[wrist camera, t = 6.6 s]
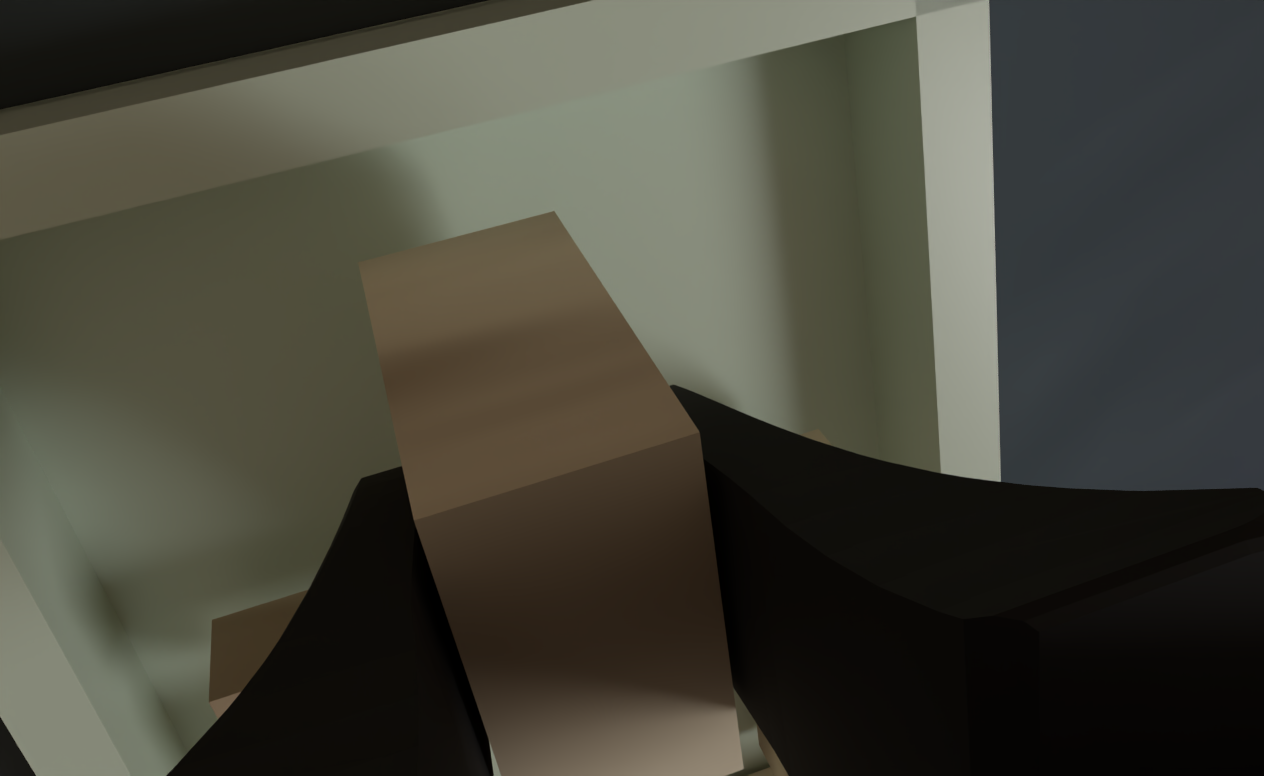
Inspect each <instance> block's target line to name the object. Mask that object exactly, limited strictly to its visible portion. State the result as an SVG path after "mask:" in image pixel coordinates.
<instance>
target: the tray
mask: <svg viewBox="0 0 1264 776" xmlns="http://www.w3.org/2000/svg"><path fill="white" fill-rule="evenodd" d="M552 211H555V213H556V214H557V216H558V217H559V219H560V220H561V222H562V223H563V225H564V227H565V228H566V230H567V231H568V233H569V234H570V236H571V237H572V239H573V240H574V242H575V243H576V245H577V246H578V248H579V249H580V251H581V252H582V254H583V255H584V257H585V258H586V260H587V262H588V263H589V265H590V266H591V268H592V269H593V271H594V272H595V274H596V275H597V277H598V278H599V280H600V281H601V283H602V284H603V286H604V287H605V289H606V290H607V292H608V293H609V295H610V297H611V298H612V300H613V301H614V303H615V304H616V306H617V307H618V309H619V310H620V312H621V313H622V315H623V316H624V318H625V319H626V321H627V322H628V324H629V325H630V327H631V328H632V330H633V332H634V333H635V335H636V336H637V338H638V339H639V341H640V342H641V344H642V345H643V347H644V348H645V350H646V351H647V353H648V354H649V356H650V357H651V359H652V360H653V362H654V364H655V365H656V367H657V368H658V370H659V371H660V373H661V374H662V376H663V377H664V379H665V380H666V382H667V383H668V385H669V386H670V385H676V386H679V387H682V388H685V389H688V390H690V391H693V392H695V393H698V394H700V395H702V396H705V397H707V398H709V399H712V400H714V401H716V402H719V403H721V404H723V405H726V406H728V407H730V408H733V409H735V410H738V411H740V412H742V413H745V414H747V415H750V416H752V417H754V418H757V419H759V420H762V421H764V422H767V423H769V424H772V425H774V426H777V427H780V428H782V429H785V430H788V431H790V432H793V433H796V434H799V435H800V434H804V433H807V432H810V431H813V430H816V429H819V430H820V431H821V433H822V434H823V435H824V436H825V437H826V439H827V440H828V441H829V442H830V443H831V445H832V446H834V447H838V448H841V449H844V450H847V451H850V452H853V453H857V454H860V455H864V456H867V457H871V458H875V459H879V460H883V461H887V462H891V463H896V464H900V465H905V466H910V467H914V468H919V469H923V470H928V471H932V472H937V473H943V474H949V475H955V476H961V477H967V478H974V479H982V480H990V481H998V482H1001V475H1000V433H999V392H998V351H997V309H996V268H995V227H994V185H993V144H992V102H991V61H990V20H989V0H488V1H484V2H479V3H475V4H470V5H466V6H462V7H457V8H453V9H448V10H444V11H439V12H435V13H430V14H426V15H421V16H417V17H412V18H408V19H403V20H399V21H394V22H390V23H385V24H381V25H376V26H372V27H368V28H363V29H359V30H354V31H350V32H345V33H341V34H336V35H332V36H327V37H323V38H318V39H314V40H309V41H305V42H300V43H296V44H291V45H287V46H282V47H278V48H273V49H269V50H265V51H260V52H256V53H251V54H247V55H242V56H238V57H233V58H229V59H224V60H220V61H215V62H211V63H206V64H202V65H197V66H193V67H188V68H184V69H179V70H175V71H170V72H166V73H162V74H157V75H153V76H148V77H144V78H139V79H135V80H130V81H126V82H121V83H117V84H112V85H108V86H103V87H99V88H94V89H90V90H85V91H81V92H76V93H72V94H68V95H63V96H59V97H54V98H50V99H45V100H41V101H36V102H32V103H27V104H23V105H18V106H14V107H9V108H5V109H0V717H1V719H2V720H3V722H4V724H5V725H6V727H7V729H8V730H9V732H10V734H11V735H12V737H13V739H14V740H15V742H16V744H17V745H18V747H19V748H20V750H21V752H22V753H23V755H24V757H25V758H26V760H27V762H28V763H29V765H30V767H31V768H32V770H33V771H34V773H35V775H36V776H166V775H167V774H168V773H169V772H170V771H171V770H172V769H173V768H174V767H175V766H176V765H177V764H178V763H179V761H180V760H181V759H182V758H183V757H184V756H185V755H186V754H187V753H188V752H189V750H190V749H191V748H192V747H193V746H194V745H195V744H196V743H197V742H198V741H199V739H200V738H201V737H202V736H203V735H204V734H205V733H206V732H207V731H208V730H209V729H210V727H211V726H212V725H213V724H214V723H215V722H216V721H217V720H218V718H217V716H216V714H215V713H214V711H213V709H212V707H211V706H210V704H209V682H210V655H211V629H212V620H213V619H216V618H219V617H223V616H226V615H229V614H232V613H235V612H239V611H242V610H245V609H248V608H251V607H254V606H258V605H261V604H264V603H267V602H270V601H273V600H277V599H280V598H283V597H286V596H289V595H292V594H296V593H299V592H302V591H305V590H308V589H309V588H310V586H311V584H312V582H313V580H314V578H315V576H316V574H317V572H318V570H319V568H320V566H321V564H322V562H323V560H324V558H325V556H326V554H327V552H328V550H329V548H330V546H331V544H332V541H333V539H334V537H335V535H336V532H337V530H338V528H339V526H340V523H341V521H342V519H343V516H344V514H345V512H346V509H347V507H348V504H349V502H350V499H351V497H352V494H353V491H354V489H355V488H356V486H357V484H358V483H359V481H360V479H361V478H363V477H366V476H370V475H373V474H376V473H380V472H383V471H386V470H390V469H393V468H396V467H400V466H402V463H401V459H400V454H399V450H398V445H397V440H396V436H395V431H394V426H393V422H392V417H391V413H390V408H389V403H388V399H387V394H386V389H385V385H384V380H383V376H382V371H381V366H380V362H379V357H378V352H377V348H376V343H375V339H374V334H373V329H372V325H371V320H370V316H369V311H368V306H367V302H366V297H365V292H364V288H363V283H362V279H361V274H360V269H359V265H358V262H362V261H365V260H369V259H373V258H377V257H381V256H384V255H388V254H392V253H396V252H400V251H404V250H407V249H411V248H415V247H419V246H423V245H426V244H430V243H434V242H438V241H442V240H445V239H449V238H453V237H457V236H461V235H464V234H468V233H472V232H476V231H480V230H484V229H487V228H491V227H495V226H499V225H503V224H506V223H510V222H514V221H518V220H522V219H525V218H529V217H533V216H537V215H541V214H544V213H548V212H552ZM733 690H734V698H735V706H736V713H737V721H738V729H739V736H740V744H741V752H742V759H743V767H744V769H743V770H740V771H737V772H734V773H732V774H729V775H726V776H747V775H750V774H753V773H755V772H758V771H761V770H764V769H766V768H769V767H770V765H769V763H768V762H767V760H766V758H765V756H764V754H763V752H762V750H761V748H760V746H759V740H758V732H757V723H756V722H755V720H754V719H753V717H752V716H751V714H750V713H749V711H748V709H747V708H746V706H745V705H744V703H743V702H742V700H741V699H740V697H739V696H738V694H737V692H736V691H735V689H734V688H733ZM489 743H490V742H489ZM490 750H491V758H492V766H493V773H494V776H501V774H500V771H499V768H498V765H497V762H496V759H495V756H494V753H493V750H492V747H491V744H490Z"/></svg>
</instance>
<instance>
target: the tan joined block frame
mask: <svg viewBox="0 0 1264 776" xmlns="http://www.w3.org/2000/svg"><path fill="white" fill-rule="evenodd" d="M358 265H359V269H360V274H361V279H362V283H363V288H364V292H365V297H366V302H367V306H368V311H369V316H370V320H371V325H372V329H373V334H374V339H375V343H376V348H377V352H378V357H379V362H380V366H381V371H382V376H383V380H384V385H385V389H386V394H387V399H388V403H389V408H390V413H391V417H392V422H393V426H394V431H395V436H396V440H397V445H398V450H399V454H400V459H401V463H402V468H403V473H404V477H405V482H406V487H407V491H408V496H409V500H410V505H411V510H412V514H413V519H414V522H415V525H416V528H417V531H418V534H419V537H420V540H421V543H422V546H423V549H424V552H425V555H426V557H427V560H428V563H429V566H430V569H431V572H432V575H433V578H434V581H435V584H436V587H437V590H438V593H439V595H440V598H441V601H442V604H443V607H444V610H445V613H446V616H447V619H448V622H449V625H450V628H451V631H452V633H453V636H454V639H455V642H456V645H457V648H458V651H459V654H460V657H461V660H462V663H463V666H464V668H465V671H466V674H467V677H468V680H469V683H470V686H471V689H472V692H473V695H474V698H475V701H476V704H477V706H478V709H479V712H480V715H481V718H482V721H483V724H484V727H485V730H486V733H487V736H488V739H489V742H490V744H491V747H492V750H493V753H494V756H495V759H496V762H497V765H498V768H499V771H500V774H501V776H726V775H729V774H732V773H734V772H737V771H740V770H743V769H744V767H743V759H742V752H741V744H740V736H739V729H738V721H737V713H736V706H735V698H734V690H733V683H732V675H731V668H730V660H729V652H728V645H727V637H726V629H725V622H724V614H723V607H722V599H721V591H720V584H719V576H718V568H717V561H716V553H715V546H714V538H713V530H712V523H711V515H710V507H709V500H708V492H707V485H706V477H705V469H704V462H703V454H702V446H701V439H700V432H699V430H698V429H697V427H696V426H695V424H694V423H693V421H692V420H691V418H690V417H689V415H688V414H687V412H686V411H685V409H684V408H683V406H682V405H681V403H680V402H679V400H678V399H677V397H676V395H675V394H674V392H673V391H672V389H671V388H670V386H669V385H668V383H667V382H666V380H665V379H664V377H663V376H662V374H661V373H660V371H659V370H658V368H657V367H656V365H655V364H654V362H653V360H652V359H651V357H650V356H649V354H648V353H647V351H646V350H645V348H644V347H643V345H642V344H641V342H640V341H639V339H638V338H637V336H636V335H635V333H634V332H633V330H632V328H631V327H630V325H629V324H628V322H627V321H626V319H625V318H624V316H623V315H622V313H621V312H620V310H619V309H618V307H617V306H616V304H615V303H614V301H613V300H612V298H611V297H610V295H609V293H608V292H607V290H606V289H605V287H604V286H603V284H602V283H601V281H600V280H599V278H598V277H597V275H596V274H595V272H594V271H593V269H592V268H591V266H590V265H589V263H588V262H587V260H586V258H585V257H584V255H583V254H582V252H581V251H580V249H579V248H578V246H577V245H576V243H575V242H574V240H573V239H572V237H571V236H570V234H569V233H568V231H567V230H566V228H565V227H564V225H563V223H562V222H561V220H560V219H559V217H558V216H557V214H556V213H555V211H552V212H548V213H544V214H541V215H537V216H533V217H529V218H525V219H522V220H518V221H514V222H510V223H506V224H503V225H499V226H495V227H491V228H487V229H484V230H480V231H476V232H472V233H468V234H464V235H461V236H457V237H453V238H449V239H445V240H442V241H438V242H434V243H430V244H426V245H423V246H419V247H415V248H411V249H407V250H404V251H400V252H396V253H392V254H388V255H384V256H381V257H377V258H373V259H369V260H365V261H362V262H358ZM800 435H801V436H804V437H807V438H810V439H813V440H815V441H819V442H822V443H825V444H828V445H831V443H830V442H829V441H828V440H827V439H826V437H825V436H824V435H823V434H822V433H821V431H820V430H819V429H816V430H813V431H810V432H807V433H804V434H800ZM831 446H832V445H831ZM307 591H308V590H305V591H302V592H299V593H296V594H292V595H289V596H286V597H283V598H280V599H277V600H273V601H270V602H267V603H264V604H261V605H258V606H254V607H251V608H248V609H245V610H242V611H239V612H235V613H232V614H229V615H226V616H223V617H219V618H216V619H213V620H212V629H211V655H210V682H209V704H210V706H211V707H212V709H213V711H214V713H215V714H216V716H217V718H218V719H219V718H220V716H221V715H222V714H223V713H224V712H225V711H226V710H227V709H228V707H229V706H230V705H231V704H232V703H233V701H234V700H235V699H236V698H237V697H238V695H239V694H240V693H241V691H242V690H243V689H244V687H245V686H246V685H247V684H248V682H249V681H250V680H251V678H252V677H253V676H254V674H255V673H256V672H257V670H258V669H259V668H260V667H261V665H262V664H263V663H264V661H265V660H266V658H267V657H268V655H269V654H270V653H271V651H272V650H273V648H274V647H275V645H276V644H277V642H278V640H279V639H280V637H281V636H282V634H283V632H284V630H285V629H286V627H287V625H288V624H289V622H290V620H291V619H292V617H293V615H294V614H295V612H296V610H297V608H298V607H299V605H300V603H301V602H302V600H303V598H304V597H305V595H306V593H307ZM757 732H758V740H759V746H760V748H761V750H762V752H763V754H764V756H765V758H766V760H767V762H768V763H769V765H770V767H769V768H766V769H764V770H761V771H758V772H755V773H753V774H750V775H747V776H789V775H788V774H787V772H786V770H785V769H784V767H783V765H782V763H781V762H780V760H779V758H778V757H777V755H776V753H775V751H774V750H773V748H772V747H771V745H770V743H769V742H768V740H767V739H766V737H765V736H764V734H763V733H762V731H761V730H760V728H759V726H758V725H757Z"/></svg>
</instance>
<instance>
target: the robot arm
mask: <svg viewBox="0 0 1264 776" xmlns="http://www.w3.org/2000/svg"><path fill="white" fill-rule="evenodd" d="M670 388H671V389H672V391H673V392H674V394H675V395H676V397H677V399H678V400H679V402H680V403H681V405H682V406H683V408H684V409H685V411H686V412H687V414H688V415H689V417H690V418H691V420H692V421H693V423H694V424H695V426H696V427H697V429H698V430H699V432H700V439H701V446H702V454H703V462H704V469H705V477H706V485H707V492H708V500H709V507H710V515H711V523H712V530H713V538H714V546H715V553H716V561H717V568H718V576H719V584H720V591H721V599H722V607H723V614H724V622H725V629H726V637H727V645H728V652H729V660H730V668H731V675H732V683H733V688H734V689H735V691H736V692H737V694H738V696H739V697H740V699H741V700H742V702H743V703H744V705H745V706H746V708H747V709H748V711H749V713H750V714H751V716H752V717H753V719H754V720H755V722H756V723H757V725H758V726H759V728H760V730H761V731H762V733H763V734H764V736H765V737H766V739H767V740H768V742H769V743H770V745H771V747H772V748H773V750H774V751H775V753H776V755H777V757H778V758H779V760H780V762H781V763H782V765H783V767H784V769H785V770H786V772H787V774H788V775H789V776H1264V491H1263V490H1261V489H1258V488H1236V489H1201V490H1166V491H1120V490H1095V489H1070V488H1056V487H1044V486H1031V485H1021V484H1013V483H1005V482H998V481H990V480H982V479H974V478H967V477H961V476H955V475H949V474H943V473H937V472H932V471H928V470H923V469H919V468H914V467H910V466H905V465H900V464H896V463H891V462H887V461H883V460H879V459H875V458H871V457H867V456H864V455H860V454H857V453H853V452H850V451H847V450H844V449H841V448H838V447H834V446H831V445H828V444H825V443H822V442H819V441H815V440H813V439H810V438H807V437H804V436H801V435H799V434H796V433H793V432H790V431H788V430H785V429H782V428H780V427H777V426H774V425H772V424H769V423H767V422H764V421H762V420H759V419H757V418H754V417H752V416H750V415H747V414H745V413H742V412H740V411H738V410H735V409H733V408H730V407H728V406H726V405H723V404H721V403H719V402H716V401H714V400H712V399H709V398H707V397H705V396H702V395H700V394H698V393H695V392H693V391H690V390H688V389H685V388H682V387H679V386H676V385H670ZM166 776H494V773H493V766H492V758H491V750H490V743H489V739H488V736H487V733H486V730H485V727H484V724H483V721H482V718H481V715H480V712H479V709H478V706H477V704H476V701H475V698H474V695H473V692H472V689H471V686H470V683H469V680H468V677H467V674H466V671H465V668H464V666H463V663H462V660H461V657H460V654H459V651H458V648H457V645H456V642H455V639H454V636H453V633H452V631H451V628H450V625H449V622H448V619H447V616H446V613H445V610H444V607H443V604H442V601H441V598H440V595H439V593H438V590H437V587H436V584H435V581H434V578H433V575H432V572H431V569H430V566H429V563H428V560H427V557H426V555H425V552H424V549H423V546H422V543H421V540H420V537H419V534H418V531H417V528H416V525H415V522H414V519H413V514H412V510H411V505H410V500H409V496H408V491H407V487H406V482H405V477H404V473H403V468H402V466H400V467H396V468H393V469H390V470H386V471H383V472H380V473H376V474H373V475H370V476H366V477H363V478H361V479H360V481H359V483H358V484H357V486H356V488H355V489H354V491H353V494H352V497H351V499H350V502H349V504H348V507H347V509H346V512H345V514H344V516H343V519H342V521H341V523H340V526H339V528H338V530H337V532H336V535H335V537H334V539H333V541H332V544H331V546H330V548H329V550H328V552H327V554H326V556H325V558H324V560H323V562H322V564H321V566H320V568H319V570H318V572H317V574H316V576H315V578H314V580H313V582H312V584H311V586H310V588H309V589H308V591H307V593H306V595H305V597H304V598H303V600H302V602H301V603H300V605H299V607H298V608H297V610H296V612H295V614H294V615H293V617H292V619H291V620H290V622H289V624H288V625H287V627H286V629H285V630H284V632H283V634H282V636H281V637H280V639H279V640H278V642H277V644H276V645H275V647H274V648H273V650H272V651H271V653H270V654H269V655H268V657H267V658H266V660H265V661H264V663H263V664H262V665H261V667H260V668H259V669H258V670H257V672H256V673H255V674H254V676H253V677H252V678H251V680H250V681H249V682H248V684H247V685H246V686H245V687H244V689H243V690H242V691H241V693H240V694H239V695H238V697H237V698H236V699H235V700H234V701H233V703H232V704H231V705H230V706H229V707H228V709H227V710H226V711H225V712H224V713H223V714H222V715H221V716H220V718H219V719H218V720H217V721H216V722H215V723H214V724H213V725H212V726H211V727H210V729H209V730H208V731H207V732H206V733H205V734H204V735H203V736H202V737H201V738H200V739H199V741H198V742H197V743H196V744H195V745H194V746H193V747H192V748H191V749H190V750H189V752H188V753H187V754H186V755H185V756H184V757H183V758H182V759H181V760H180V761H179V763H178V764H177V765H176V766H175V767H174V768H173V769H172V770H171V771H170V772H169V773H168V774H167V775H166Z"/></svg>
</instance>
